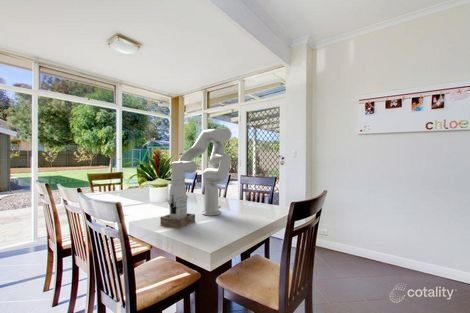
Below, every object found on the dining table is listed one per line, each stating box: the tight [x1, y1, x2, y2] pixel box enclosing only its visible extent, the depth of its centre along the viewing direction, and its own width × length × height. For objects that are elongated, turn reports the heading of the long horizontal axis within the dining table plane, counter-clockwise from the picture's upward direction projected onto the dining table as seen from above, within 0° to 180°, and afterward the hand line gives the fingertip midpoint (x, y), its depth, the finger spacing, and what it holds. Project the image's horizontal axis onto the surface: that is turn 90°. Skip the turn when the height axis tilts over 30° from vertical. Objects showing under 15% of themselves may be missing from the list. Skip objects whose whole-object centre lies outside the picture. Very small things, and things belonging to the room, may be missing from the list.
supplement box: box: [169, 197, 188, 220], centre depth 130 cm, size 7×7×13 cm
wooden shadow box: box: [159, 212, 196, 229], centre depth 130 cm, size 14×14×4 cm
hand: (178, 211), depth 130 cm, fingers closed on supplement box, 7 cm apart
